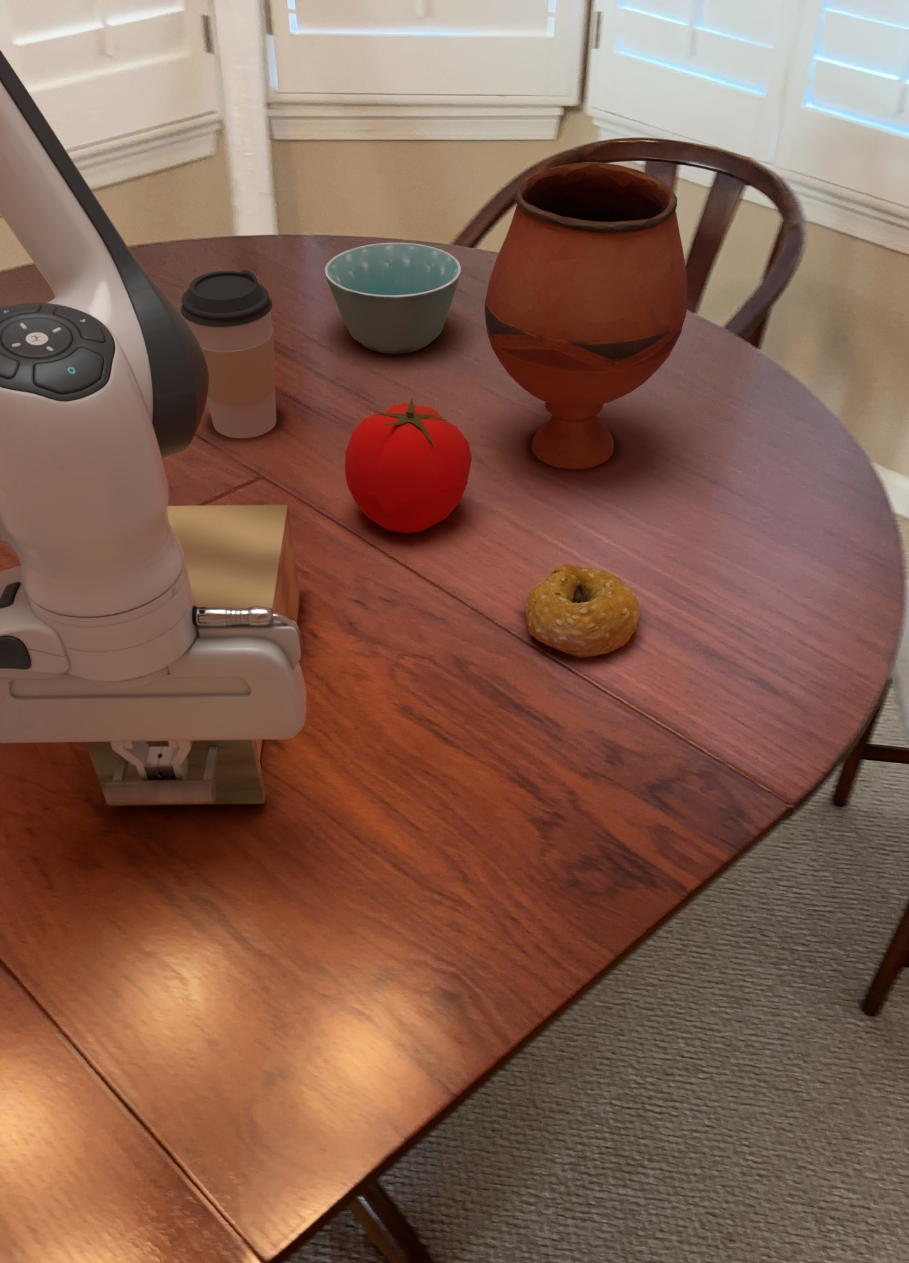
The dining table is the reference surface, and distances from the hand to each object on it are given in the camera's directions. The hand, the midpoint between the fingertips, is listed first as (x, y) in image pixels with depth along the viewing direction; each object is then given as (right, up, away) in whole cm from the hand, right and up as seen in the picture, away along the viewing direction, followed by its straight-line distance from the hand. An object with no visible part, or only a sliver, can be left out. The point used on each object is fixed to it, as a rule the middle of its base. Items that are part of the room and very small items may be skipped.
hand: (165, 774), depth 72 cm
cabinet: (0, +11, +19) cm, 22 cm away
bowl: (+12, +54, +57) cm, 80 cm away
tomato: (+15, +26, +32) cm, 44 cm away
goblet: (+32, +35, +40) cm, 62 cm away
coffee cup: (-3, +39, +44) cm, 59 cm away
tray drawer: (0, +1, +9) cm, 9 cm away
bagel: (+31, +13, +21) cm, 39 cm away
